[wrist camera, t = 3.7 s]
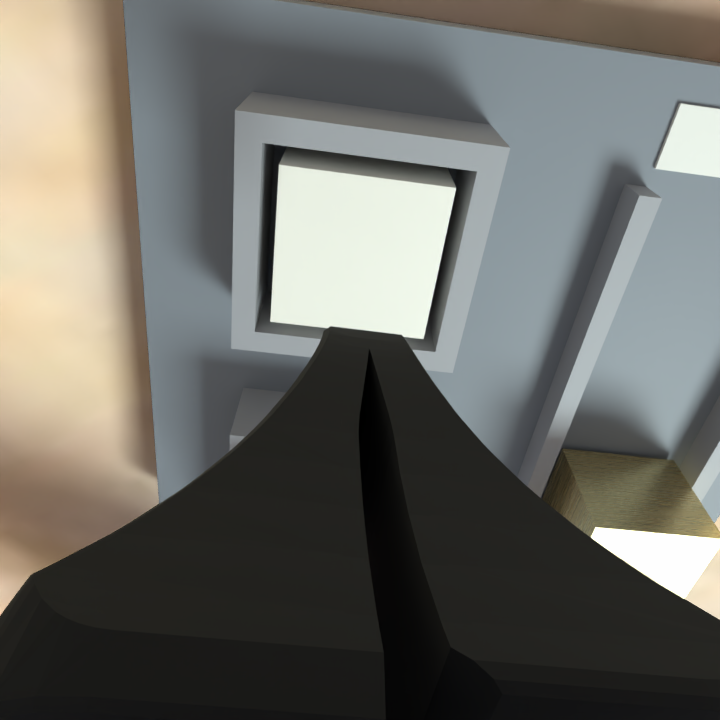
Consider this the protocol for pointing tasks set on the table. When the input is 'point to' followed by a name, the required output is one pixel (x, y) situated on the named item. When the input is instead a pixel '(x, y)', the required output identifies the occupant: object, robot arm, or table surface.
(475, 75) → the panel
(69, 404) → the table surface
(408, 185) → the cream button
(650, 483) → the slider knob
